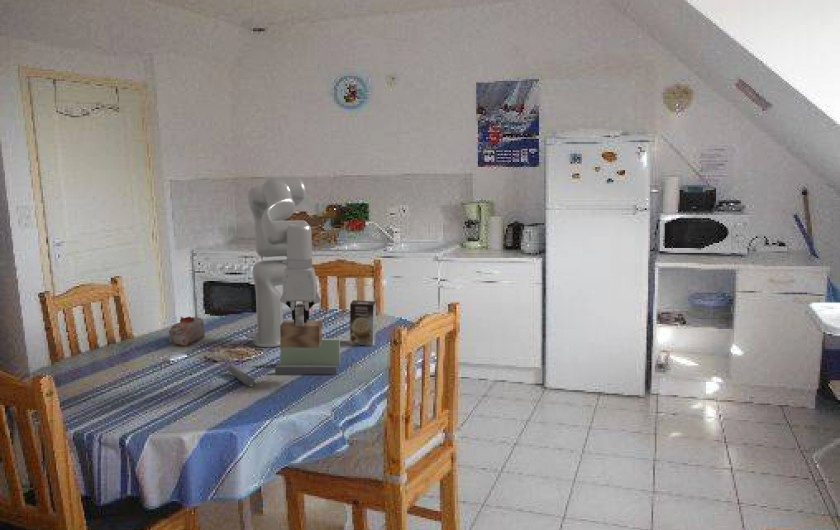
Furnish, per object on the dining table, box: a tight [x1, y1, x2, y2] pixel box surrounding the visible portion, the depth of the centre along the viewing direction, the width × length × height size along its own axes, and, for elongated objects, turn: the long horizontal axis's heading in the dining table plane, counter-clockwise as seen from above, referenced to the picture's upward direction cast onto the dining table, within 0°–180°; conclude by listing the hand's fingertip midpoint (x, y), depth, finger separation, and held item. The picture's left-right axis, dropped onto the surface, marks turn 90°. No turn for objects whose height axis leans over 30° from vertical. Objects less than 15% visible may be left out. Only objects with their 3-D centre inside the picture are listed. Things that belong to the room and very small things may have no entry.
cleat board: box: [274, 338, 341, 375], centre depth 222 cm, size 20×11×9 cm, turn 91°
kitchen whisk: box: [206, 346, 255, 387], centre depth 217 cm, size 6×34×6 cm, turn 38°
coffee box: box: [349, 299, 377, 347], centre depth 251 cm, size 9×6×16 cm
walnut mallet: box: [280, 303, 323, 348], centre depth 209 cm, size 12×6×13 cm, turn 91°
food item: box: [168, 316, 206, 347], centre depth 252 cm, size 14×8×10 cm, turn 166°
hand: (300, 321), depth 208 cm, fingers closed on walnut mallet, 2 cm apart
